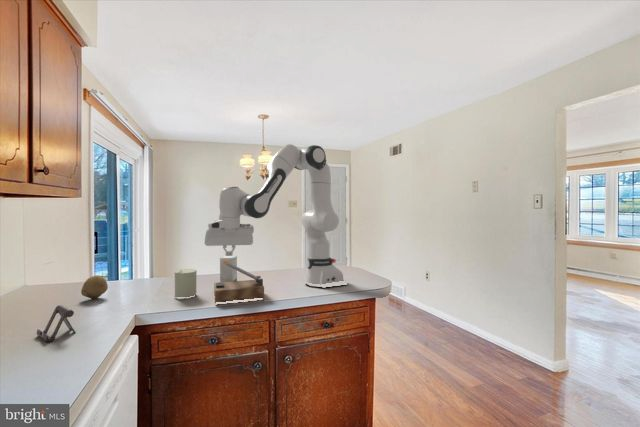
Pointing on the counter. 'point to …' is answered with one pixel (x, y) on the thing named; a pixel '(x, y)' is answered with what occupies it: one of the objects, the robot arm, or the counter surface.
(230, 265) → the strap
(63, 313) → the portable electronic device stand
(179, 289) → the can
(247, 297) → the latch base
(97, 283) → the natural sponge
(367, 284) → the counter surface
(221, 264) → the skincare box
